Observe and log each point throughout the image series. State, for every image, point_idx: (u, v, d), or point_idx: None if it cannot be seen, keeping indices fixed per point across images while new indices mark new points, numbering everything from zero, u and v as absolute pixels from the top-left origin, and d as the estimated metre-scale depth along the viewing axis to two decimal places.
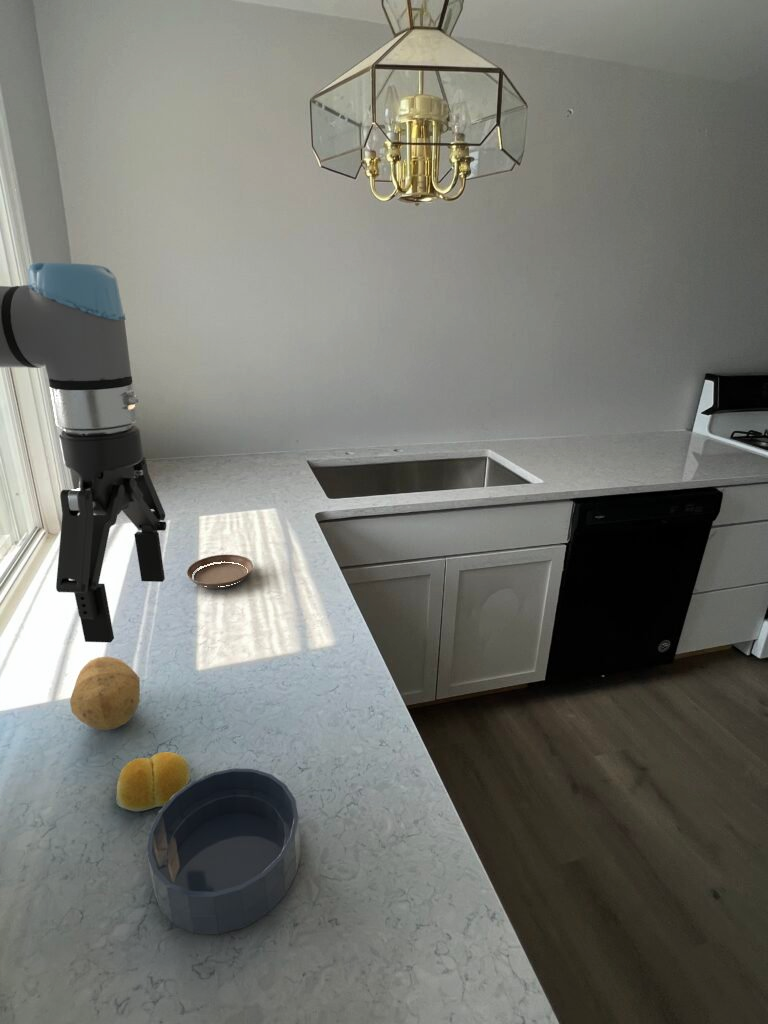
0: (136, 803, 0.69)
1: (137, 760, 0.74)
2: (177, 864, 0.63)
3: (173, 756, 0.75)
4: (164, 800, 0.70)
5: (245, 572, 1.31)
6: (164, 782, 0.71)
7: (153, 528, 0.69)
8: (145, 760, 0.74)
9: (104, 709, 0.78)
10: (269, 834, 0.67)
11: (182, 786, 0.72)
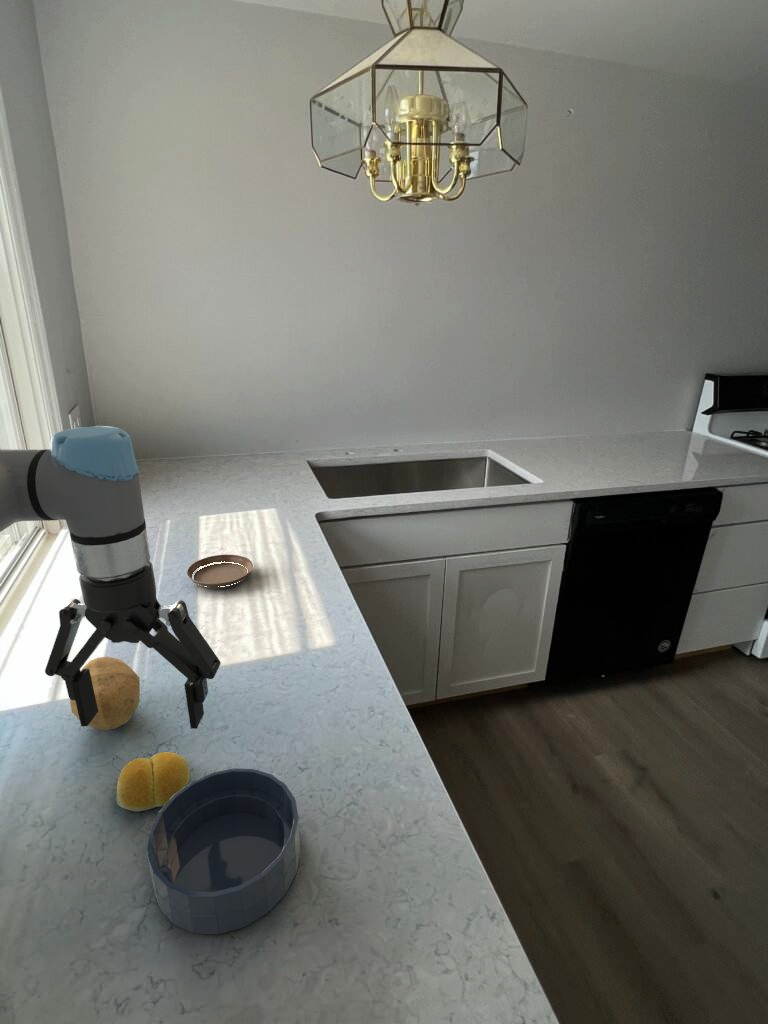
0: (136, 803, 0.69)
1: (137, 760, 0.74)
2: (177, 864, 0.63)
3: (173, 756, 0.75)
4: (164, 800, 0.70)
5: (245, 572, 1.31)
6: (164, 782, 0.71)
7: None
8: (145, 760, 0.74)
9: (104, 709, 0.78)
10: (269, 834, 0.67)
11: (182, 786, 0.72)
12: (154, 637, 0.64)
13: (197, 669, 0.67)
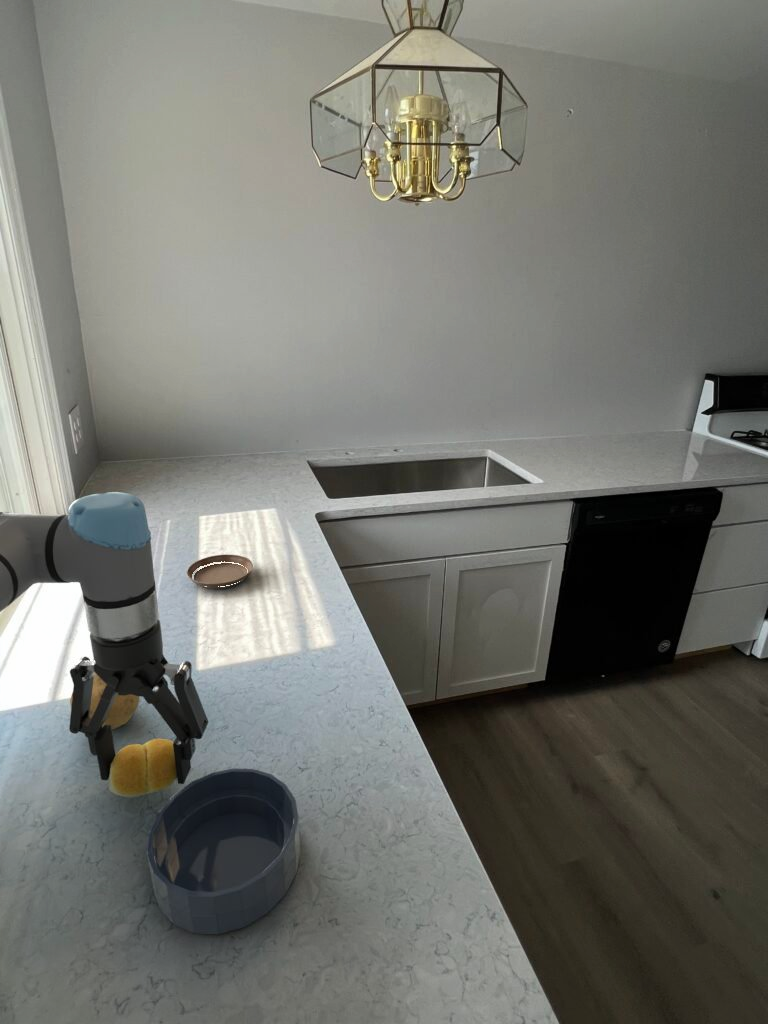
0: (129, 789, 0.68)
1: (130, 746, 0.73)
2: (177, 864, 0.63)
3: (167, 742, 0.74)
4: (158, 786, 0.69)
5: (245, 572, 1.31)
6: (158, 768, 0.70)
7: (103, 722, 0.71)
8: (139, 746, 0.73)
9: None
10: (269, 834, 0.67)
11: (176, 773, 0.71)
12: (156, 695, 0.67)
13: (185, 728, 0.70)
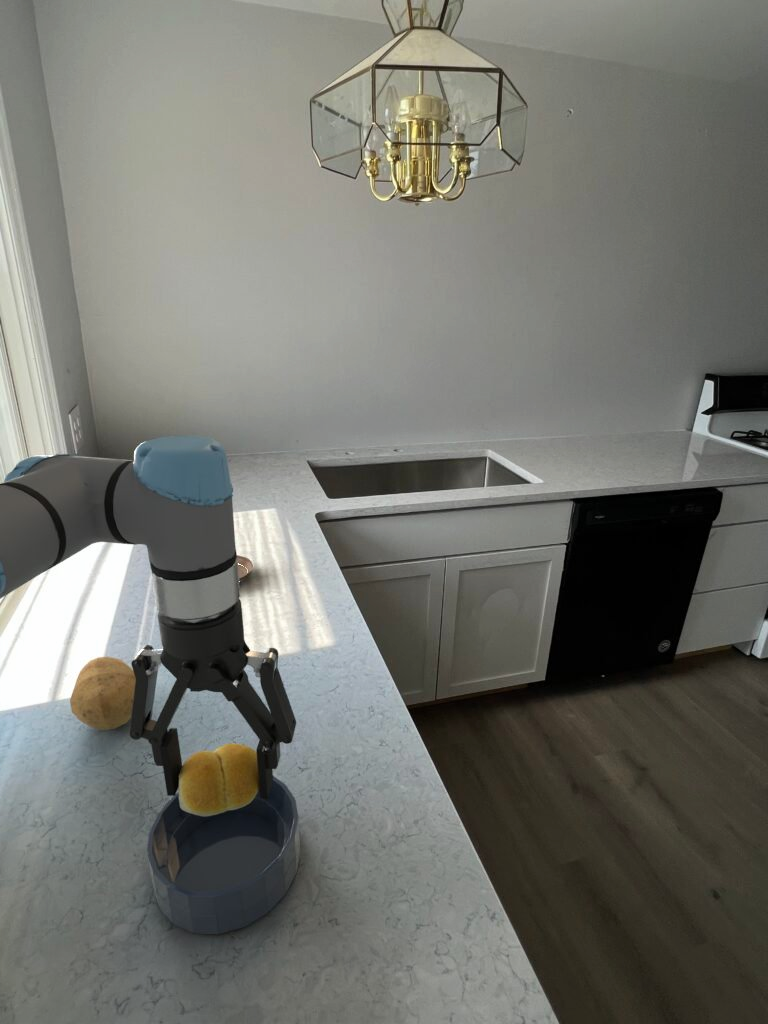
0: (205, 806, 0.55)
1: (201, 753, 0.60)
2: (177, 864, 0.63)
3: (244, 748, 0.61)
4: (239, 802, 0.57)
5: (245, 572, 1.31)
6: (237, 780, 0.57)
7: (168, 726, 0.58)
8: (210, 753, 0.60)
9: (104, 709, 0.78)
10: (269, 834, 0.67)
11: (258, 785, 0.58)
12: (237, 690, 0.54)
13: (270, 731, 0.57)
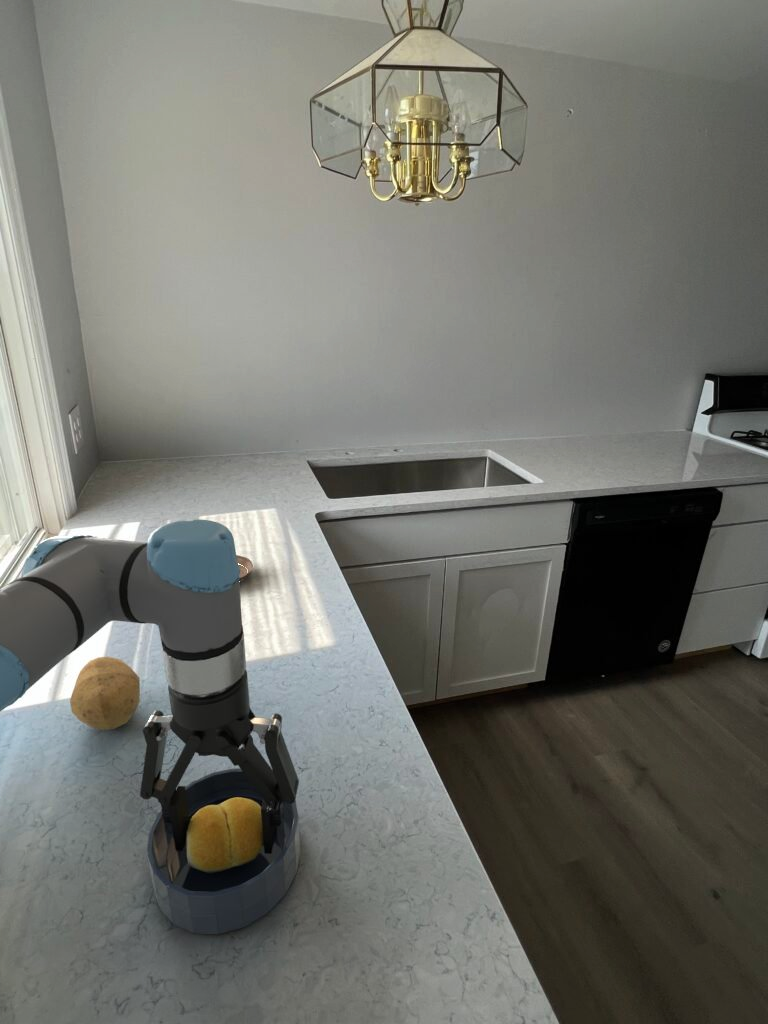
0: (212, 864, 0.58)
1: (207, 809, 0.63)
2: (177, 864, 0.63)
3: (249, 803, 0.64)
4: (244, 859, 0.59)
5: (245, 572, 1.31)
6: (242, 837, 0.60)
7: None
8: (216, 809, 0.63)
9: (104, 709, 0.78)
10: None
11: (262, 841, 0.61)
12: (243, 755, 0.57)
13: (274, 791, 0.60)
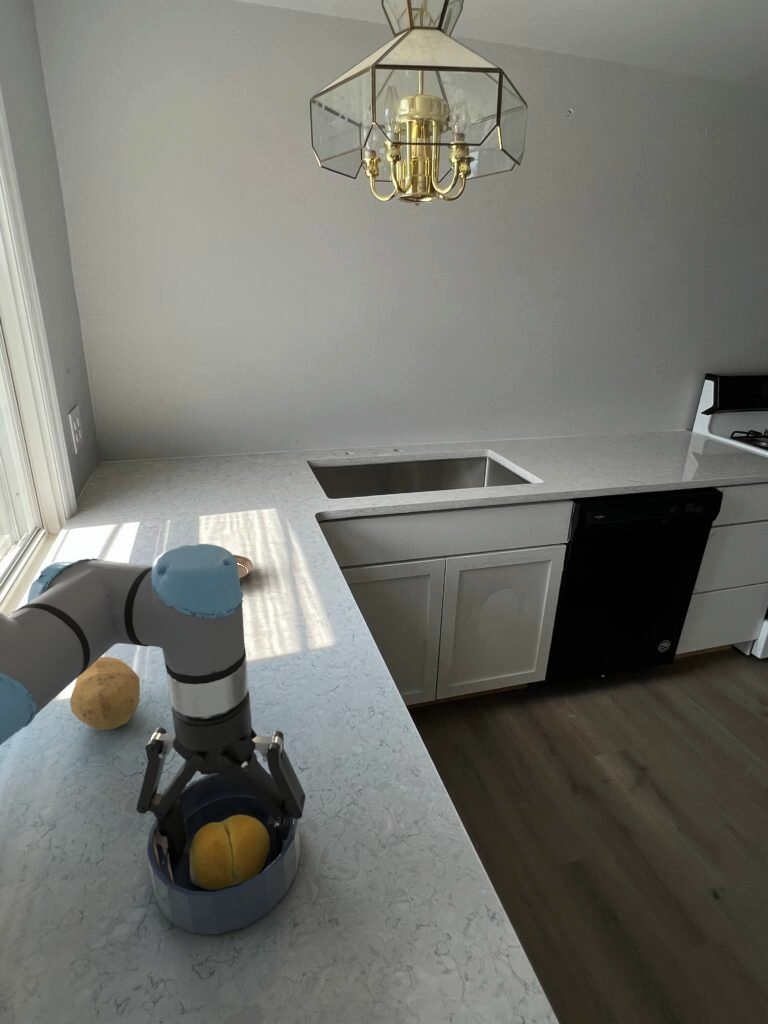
0: (215, 883, 0.59)
1: (210, 827, 0.64)
2: (177, 864, 0.63)
3: (251, 821, 0.65)
4: (246, 877, 0.60)
5: (245, 572, 1.31)
6: (245, 856, 0.61)
7: None
8: (219, 827, 0.64)
9: (104, 709, 0.78)
10: None
11: (264, 859, 0.62)
12: (246, 773, 0.58)
13: (281, 806, 0.60)
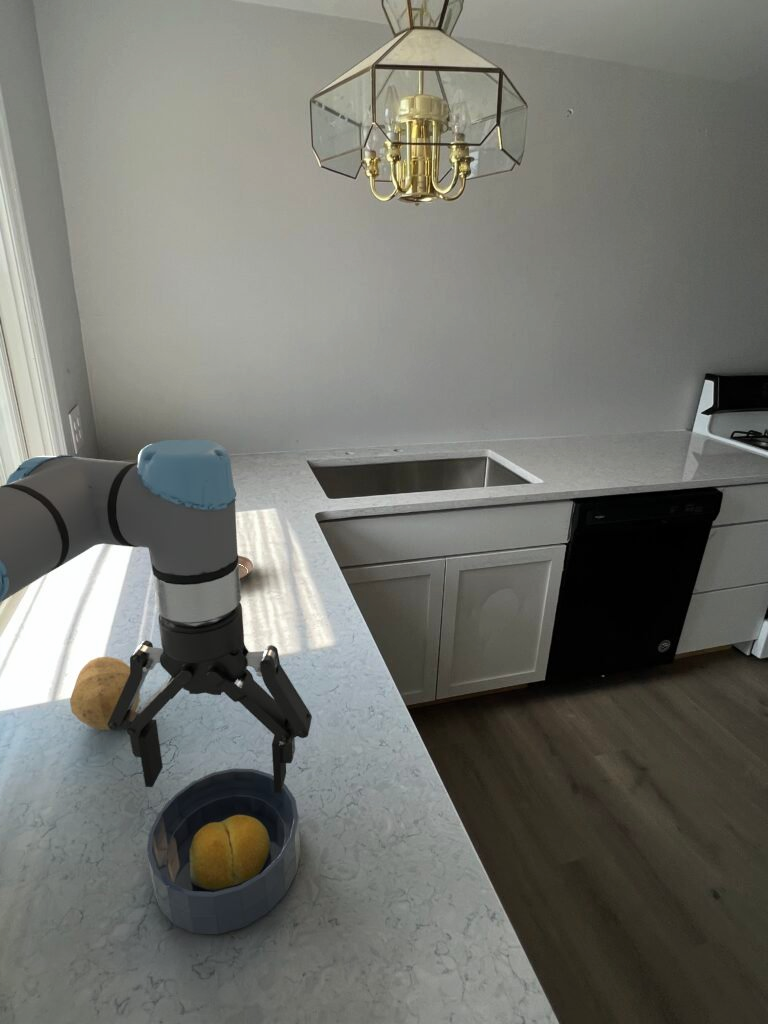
0: (215, 882, 0.59)
1: (210, 827, 0.64)
2: (177, 864, 0.63)
3: (251, 821, 0.65)
4: (246, 877, 0.60)
5: (245, 572, 1.31)
6: (245, 856, 0.61)
7: None
8: (219, 827, 0.64)
9: (104, 709, 0.78)
10: (269, 834, 0.67)
11: (264, 859, 0.62)
12: (241, 689, 0.54)
13: (286, 725, 0.57)
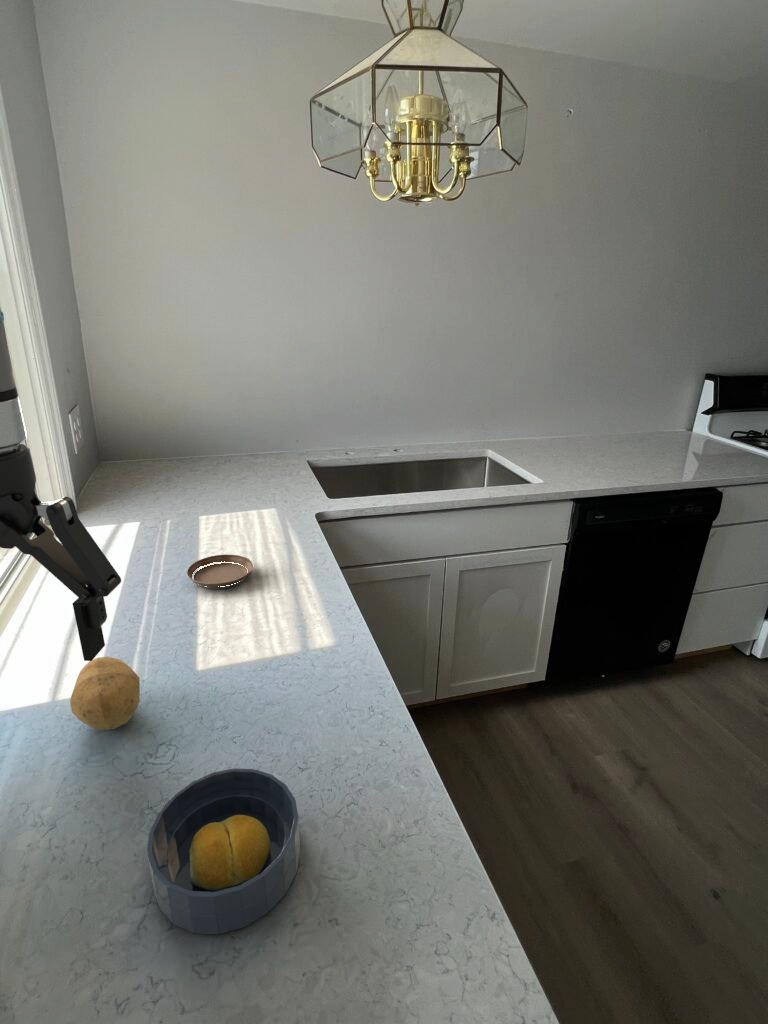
0: (215, 882, 0.59)
1: (210, 827, 0.64)
2: (177, 864, 0.63)
3: (251, 821, 0.65)
4: (246, 877, 0.60)
5: (245, 572, 1.31)
6: (245, 856, 0.61)
7: None
8: (219, 827, 0.64)
9: (104, 709, 0.78)
10: (269, 834, 0.67)
11: (264, 859, 0.62)
12: (31, 540, 0.51)
13: (90, 585, 0.54)
